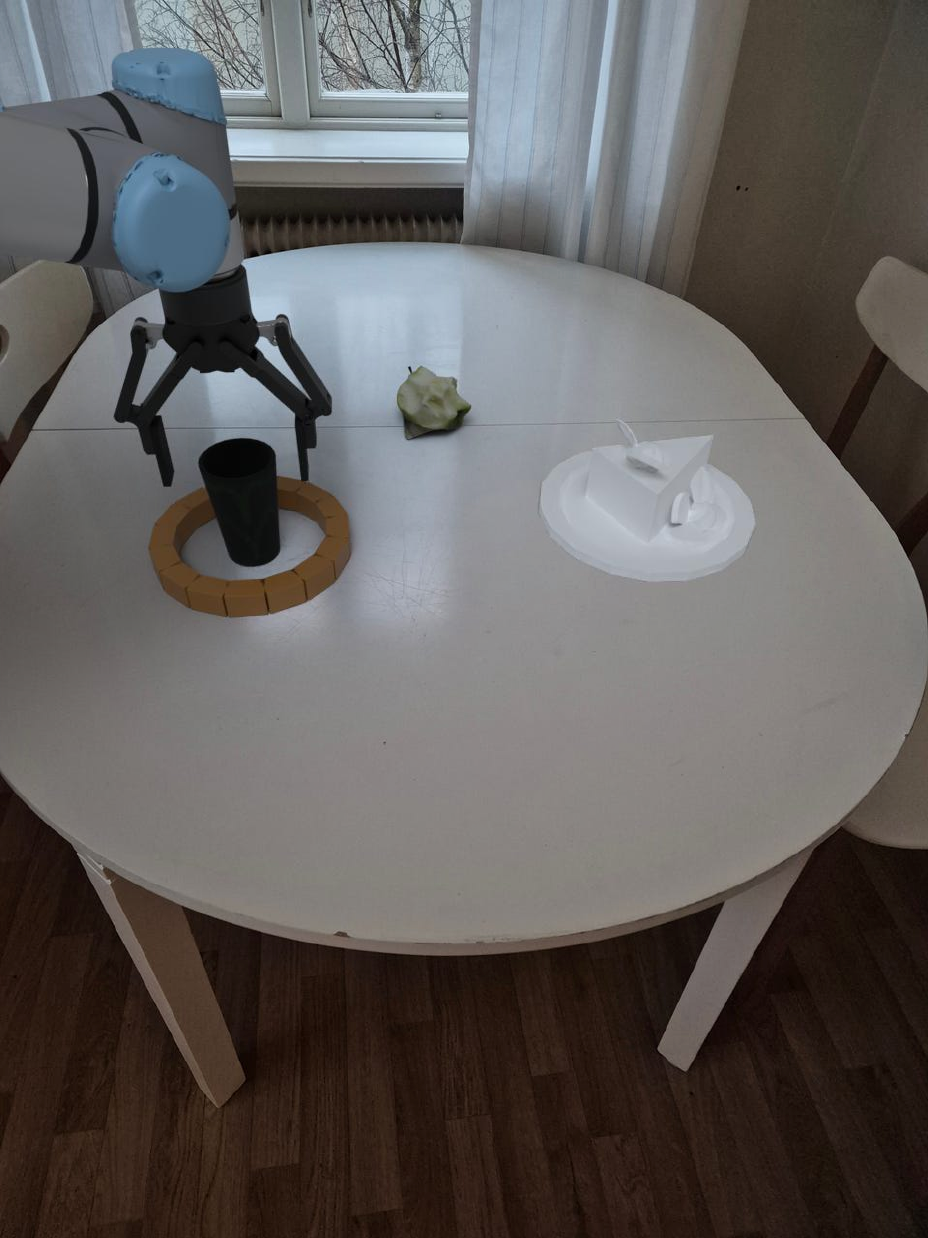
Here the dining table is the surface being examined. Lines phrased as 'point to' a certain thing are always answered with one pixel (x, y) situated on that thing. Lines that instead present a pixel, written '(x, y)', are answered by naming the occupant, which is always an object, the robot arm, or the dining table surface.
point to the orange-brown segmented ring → (251, 593)
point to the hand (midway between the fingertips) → (237, 476)
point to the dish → (647, 509)
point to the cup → (244, 498)
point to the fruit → (430, 403)
